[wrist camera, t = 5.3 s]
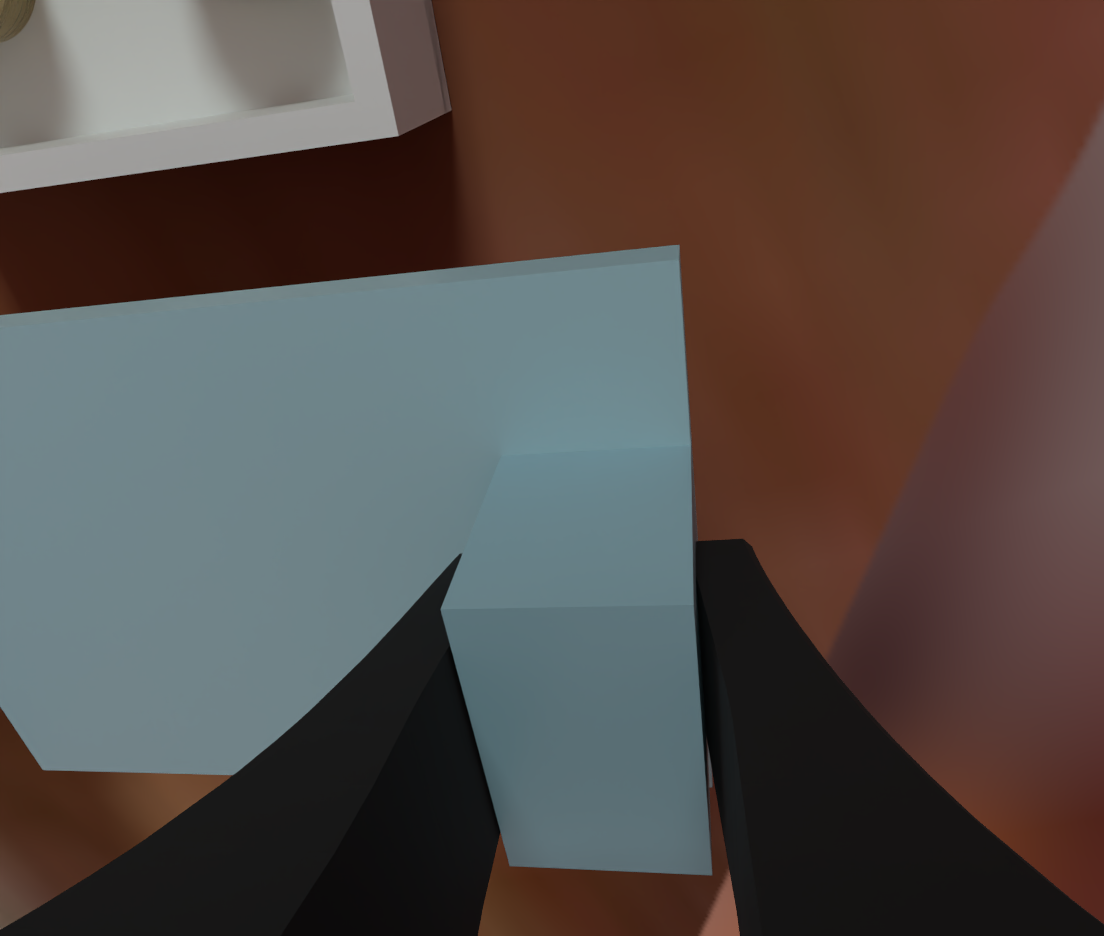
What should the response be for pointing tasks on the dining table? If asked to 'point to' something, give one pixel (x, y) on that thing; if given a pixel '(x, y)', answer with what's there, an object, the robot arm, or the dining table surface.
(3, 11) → the bushing
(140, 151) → the tub
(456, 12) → the dining table surface
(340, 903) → the robot arm
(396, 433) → the lid
